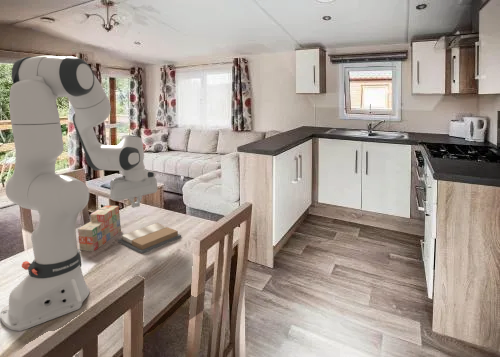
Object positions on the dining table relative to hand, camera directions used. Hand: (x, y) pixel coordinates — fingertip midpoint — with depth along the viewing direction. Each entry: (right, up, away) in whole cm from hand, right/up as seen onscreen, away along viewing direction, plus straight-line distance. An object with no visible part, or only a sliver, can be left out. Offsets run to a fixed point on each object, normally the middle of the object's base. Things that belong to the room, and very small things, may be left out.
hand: (135, 206), depth 138 cm
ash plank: (+2, -13, +5) cm, 14 cm away
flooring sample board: (+5, -15, +3) cm, 16 cm away
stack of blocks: (-16, -15, +3) cm, 22 cm away
